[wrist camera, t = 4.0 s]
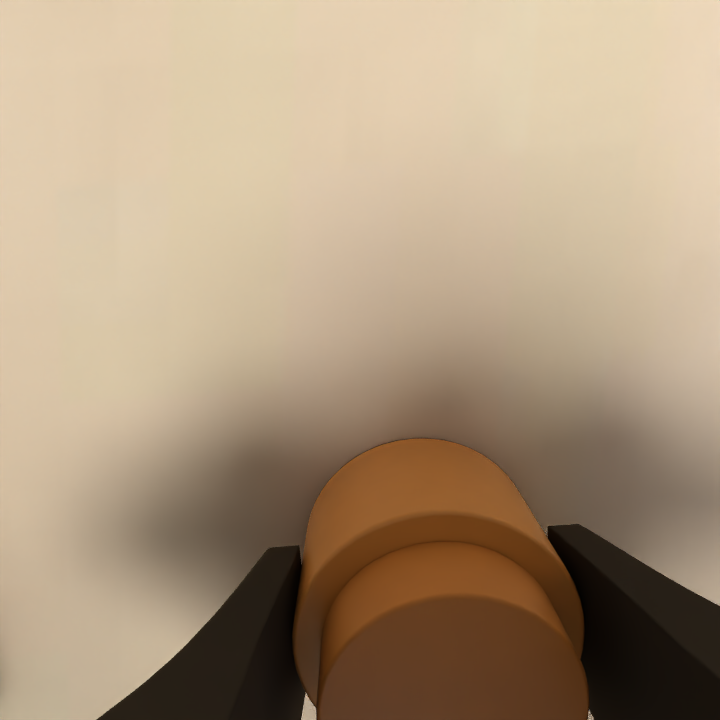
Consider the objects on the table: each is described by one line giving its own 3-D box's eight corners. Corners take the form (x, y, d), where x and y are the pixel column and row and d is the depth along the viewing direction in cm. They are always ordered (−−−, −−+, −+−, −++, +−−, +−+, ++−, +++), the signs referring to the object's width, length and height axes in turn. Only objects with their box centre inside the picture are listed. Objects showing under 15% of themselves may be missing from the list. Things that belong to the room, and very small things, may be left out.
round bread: (527, 428, 12) (631, 548, 8) (529, 628, 13) (620, 834, 9) (295, 446, 12) (261, 577, 8) (317, 644, 13) (299, 858, 9)
